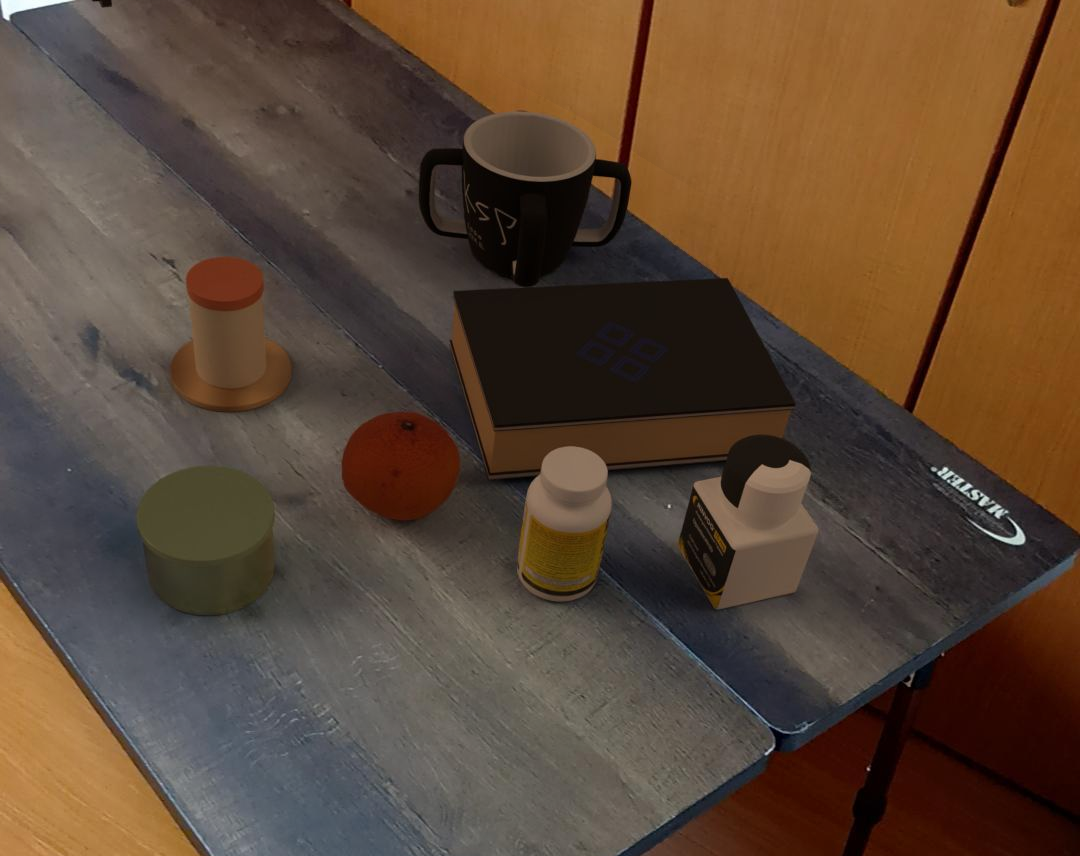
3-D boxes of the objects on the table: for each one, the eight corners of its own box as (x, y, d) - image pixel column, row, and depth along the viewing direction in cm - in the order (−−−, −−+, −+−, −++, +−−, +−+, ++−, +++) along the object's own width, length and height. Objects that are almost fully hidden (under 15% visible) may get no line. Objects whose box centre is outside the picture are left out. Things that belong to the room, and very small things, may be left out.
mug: (400, 239, 128) (404, 126, 119) (524, 191, 136) (536, 83, 128) (509, 325, 121) (522, 212, 112) (633, 270, 129) (654, 160, 120)
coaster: (176, 417, 107) (175, 412, 107) (165, 341, 114) (164, 335, 113) (299, 405, 110) (299, 400, 109) (282, 331, 116) (282, 326, 116)
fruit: (474, 481, 106) (481, 406, 100) (426, 553, 100) (431, 477, 94) (375, 445, 108) (377, 369, 102) (322, 514, 102) (321, 436, 96)
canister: (198, 393, 109) (189, 304, 102) (191, 347, 113) (182, 259, 106) (272, 386, 110) (268, 298, 104) (262, 341, 114) (257, 254, 108)
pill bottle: (609, 595, 99) (633, 490, 91) (533, 613, 97) (551, 507, 89) (578, 537, 103) (598, 431, 95) (504, 553, 101) (518, 446, 93)
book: (448, 351, 117) (453, 289, 112) (712, 336, 123) (727, 277, 118) (487, 487, 106) (494, 425, 101) (776, 463, 111) (796, 403, 107)
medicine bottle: (675, 545, 103) (705, 431, 95) (755, 528, 106) (792, 415, 97) (714, 612, 99) (750, 499, 90) (797, 593, 101) (839, 481, 93)
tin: (150, 626, 92) (141, 569, 88) (140, 531, 98) (131, 472, 94) (285, 608, 95) (283, 551, 90) (267, 516, 101) (264, 458, 97)
